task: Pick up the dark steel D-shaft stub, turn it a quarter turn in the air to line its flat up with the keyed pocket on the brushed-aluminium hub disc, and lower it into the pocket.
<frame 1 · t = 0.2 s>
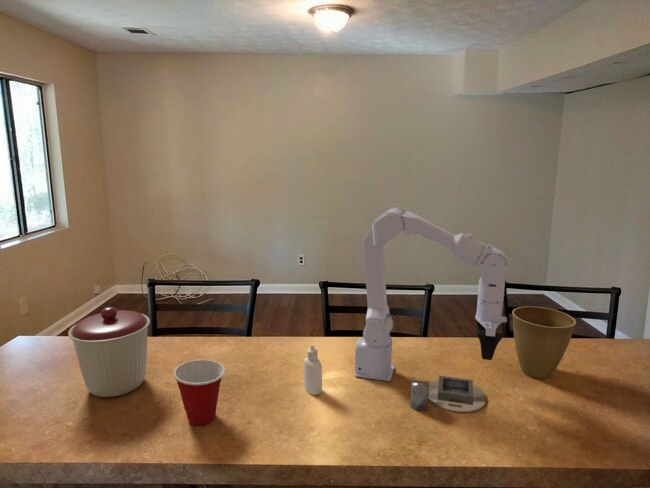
hand: (485, 351, 110), 10 cm above the counter, fingers open, 7 cm apart
canister: (117, 387, 114), on the counter
plant pot: (537, 372, 120), on the counter
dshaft: (419, 406, 105), on the counter
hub: (455, 395, 109), on the counter
eye dropper bottle: (312, 390, 112), on the counter
plastic cup: (203, 419, 100), on the counter
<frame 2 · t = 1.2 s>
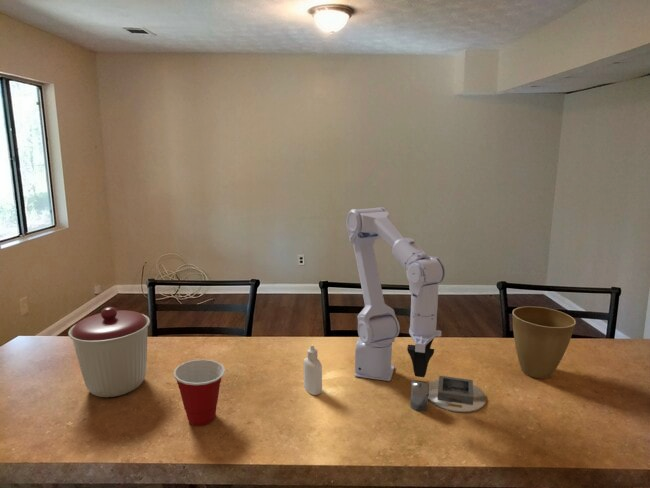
hand: (421, 368, 103), 10 cm above the counter, fingers open, 7 cm apart
nothing on the counter moved.
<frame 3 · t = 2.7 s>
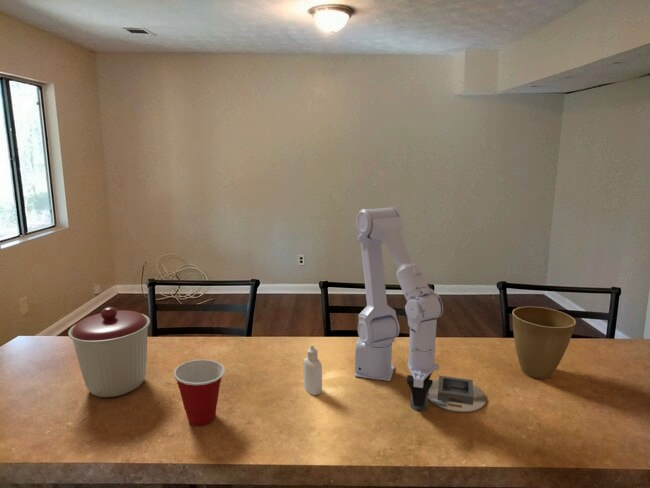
hand: (419, 400, 104), 2 cm above the counter, fingers closed on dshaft, 4 cm apart
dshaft: (419, 406, 105), on the counter, touching gripper
everything else where it was.
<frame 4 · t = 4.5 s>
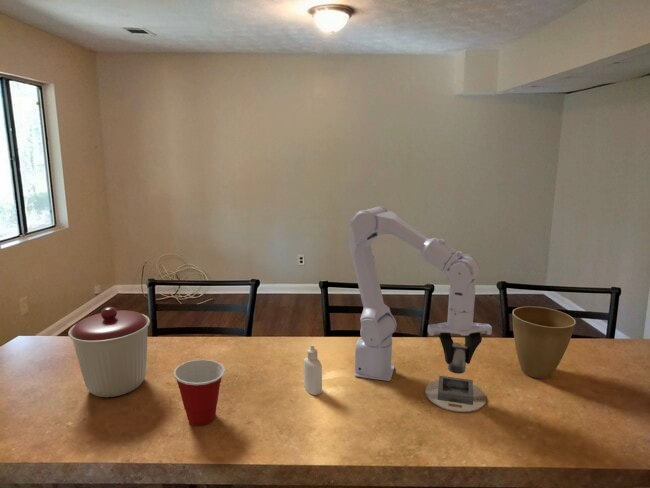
hand: (457, 361, 107), 9 cm above the counter, fingers closed on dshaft, 4 cm apart
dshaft: (456, 369, 108), point 7 cm above the counter, touching gripper
everything else where it was.
when the fingers open (4 cm above the counter, at t = 6.3 s): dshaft stays where it is, resting on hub.
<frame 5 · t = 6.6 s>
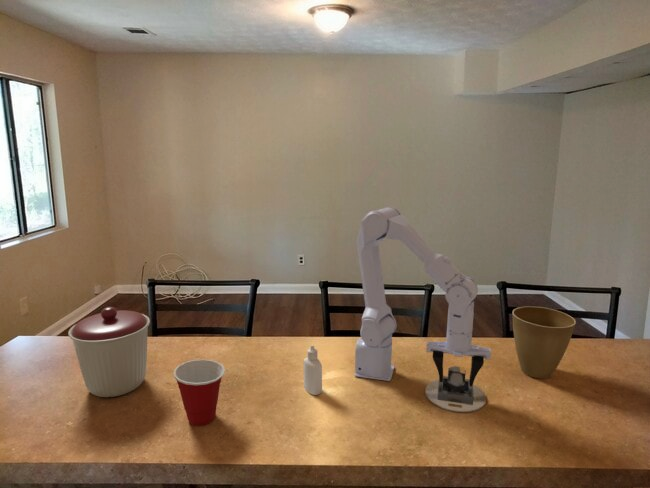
hand: (455, 382, 108), 4 cm above the counter, fingers open, 6 cm apart
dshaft: (455, 393, 109), point 1 cm above the counter, touching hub
everything else where it was.
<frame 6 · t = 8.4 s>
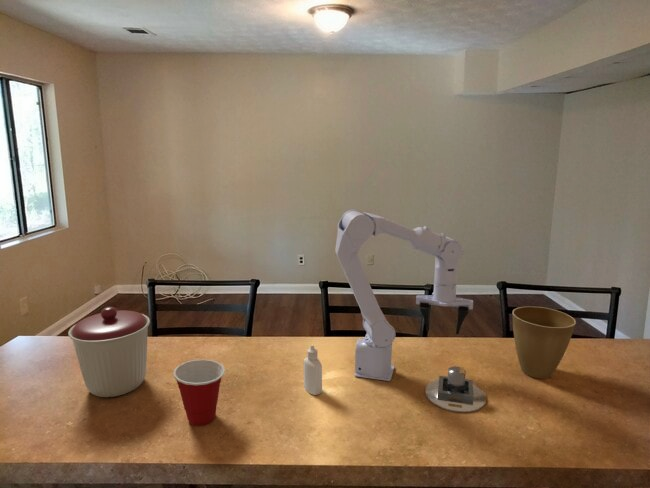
hand: (442, 331, 121), 10 cm above the counter, fingers open, 7 cm apart
nothing on the counter moved.
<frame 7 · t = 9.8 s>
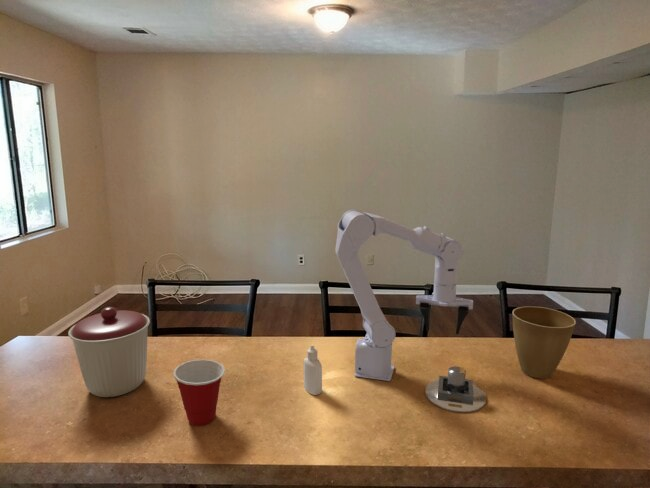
hand: (442, 331, 121), 10 cm above the counter, fingers open, 7 cm apart
nothing on the counter moved.
at the end: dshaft 0.2 cm off-centre on the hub, point 0.6 cm above the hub's base; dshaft tilted 0°; the gripper is holding nothing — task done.
